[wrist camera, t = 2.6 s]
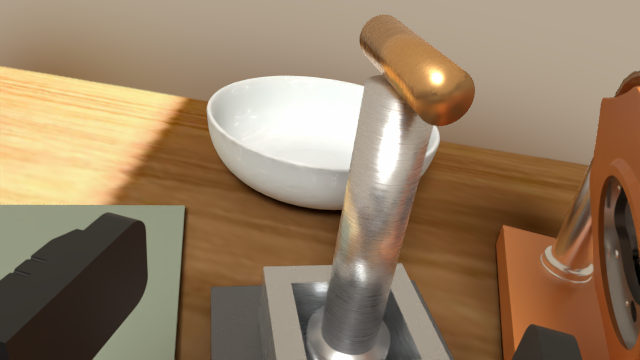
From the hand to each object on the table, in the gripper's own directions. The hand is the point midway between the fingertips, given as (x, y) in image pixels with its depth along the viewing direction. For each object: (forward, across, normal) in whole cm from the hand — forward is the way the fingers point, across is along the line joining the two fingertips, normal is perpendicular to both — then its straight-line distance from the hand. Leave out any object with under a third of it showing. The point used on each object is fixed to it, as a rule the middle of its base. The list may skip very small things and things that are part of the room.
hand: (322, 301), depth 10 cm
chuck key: (+12, 0, -15) cm, 19 cm away
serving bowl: (+34, -6, -16) cm, 38 cm away
